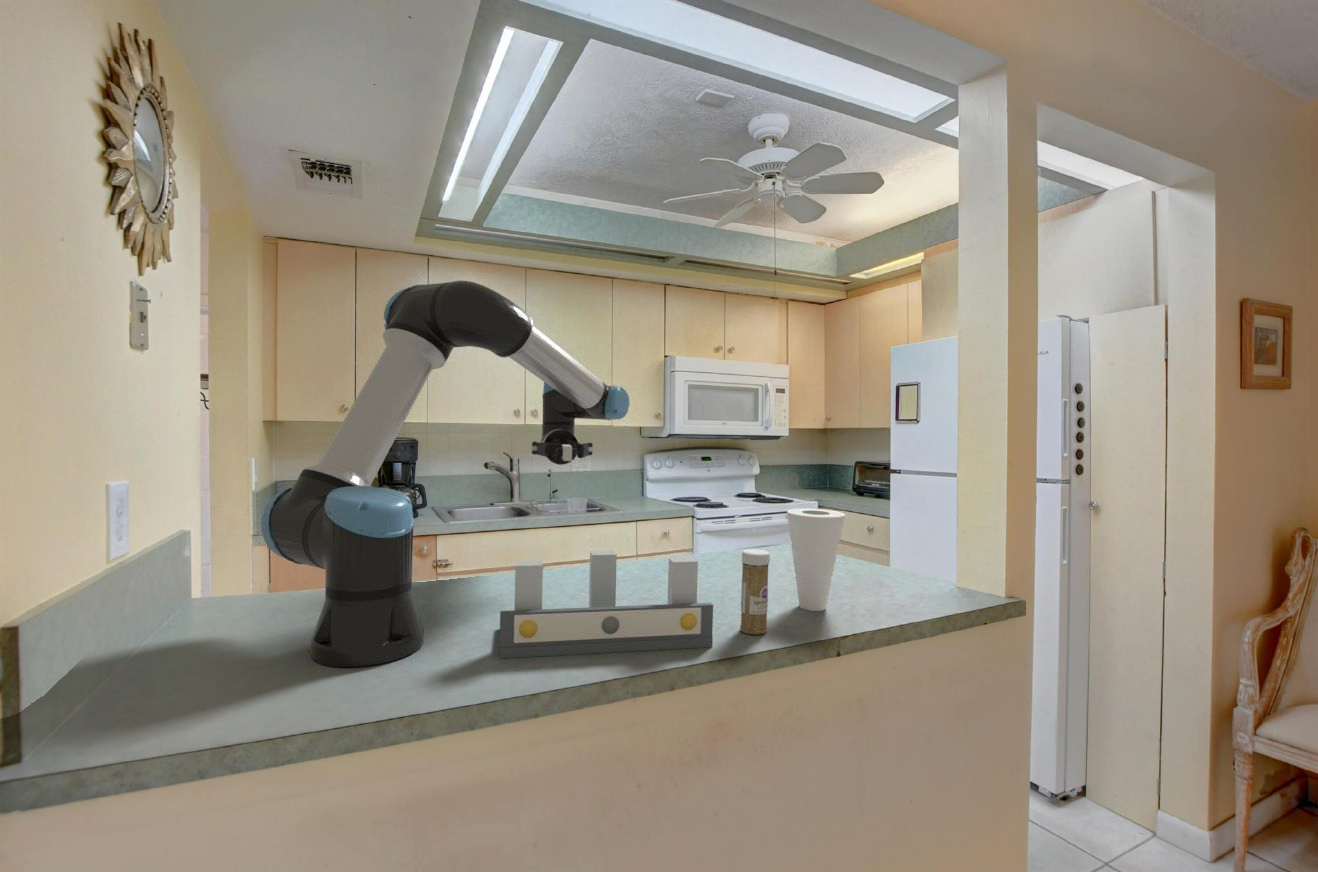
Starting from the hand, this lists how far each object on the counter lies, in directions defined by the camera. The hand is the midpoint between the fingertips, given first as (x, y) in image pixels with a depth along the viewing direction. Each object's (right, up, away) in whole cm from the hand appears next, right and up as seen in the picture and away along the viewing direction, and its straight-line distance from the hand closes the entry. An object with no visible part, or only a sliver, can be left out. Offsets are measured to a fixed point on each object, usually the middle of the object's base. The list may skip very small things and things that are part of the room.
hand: (567, 453), depth 117 cm
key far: (+20, -27, -16) cm, 38 cm away
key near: (-3, -27, -22) cm, 35 cm away
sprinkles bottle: (+33, -29, -12) cm, 46 cm away
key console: (+8, -29, -16) cm, 34 cm away
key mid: (+7, -27, -13) cm, 31 cm away
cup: (+46, -29, +3) cm, 55 cm away
